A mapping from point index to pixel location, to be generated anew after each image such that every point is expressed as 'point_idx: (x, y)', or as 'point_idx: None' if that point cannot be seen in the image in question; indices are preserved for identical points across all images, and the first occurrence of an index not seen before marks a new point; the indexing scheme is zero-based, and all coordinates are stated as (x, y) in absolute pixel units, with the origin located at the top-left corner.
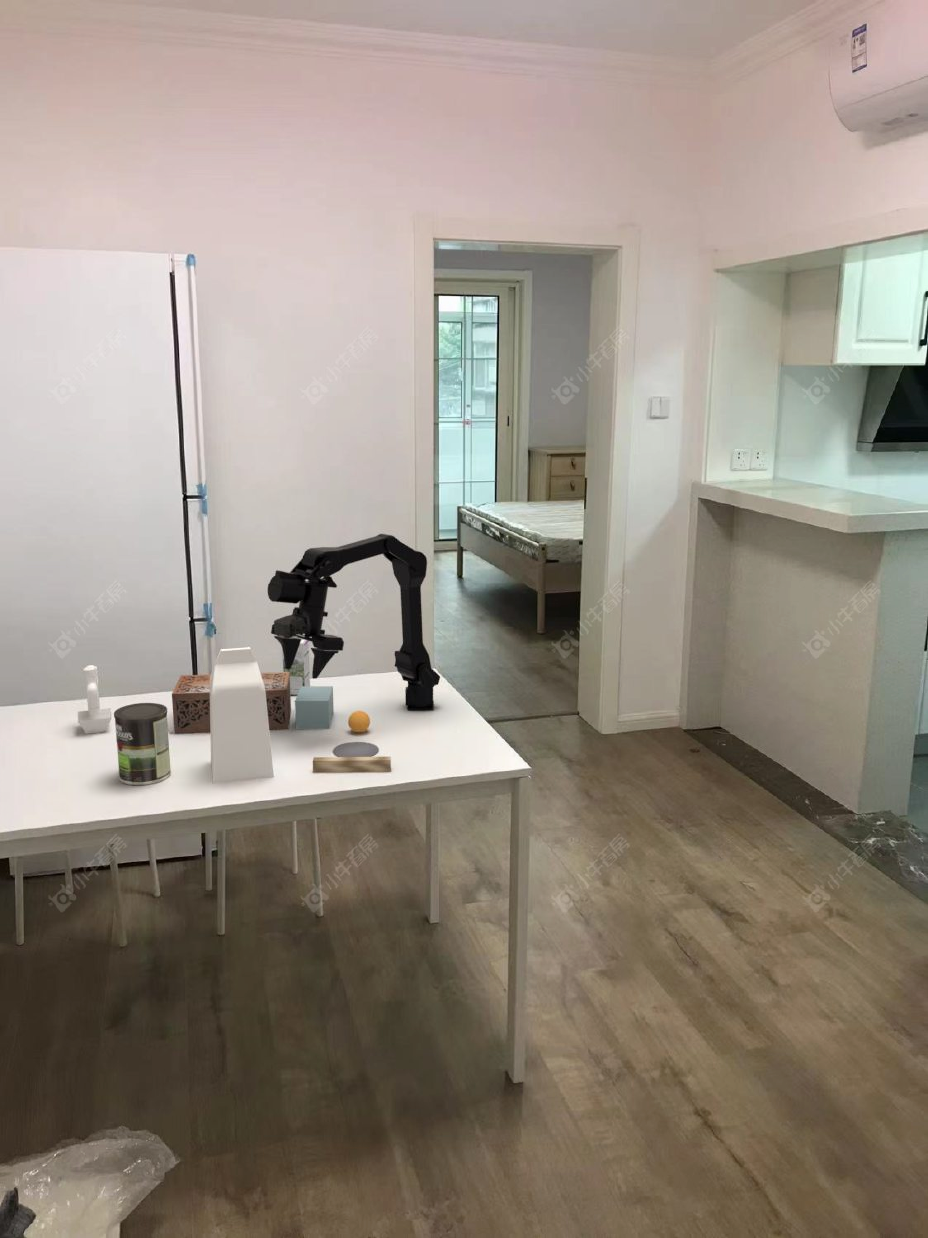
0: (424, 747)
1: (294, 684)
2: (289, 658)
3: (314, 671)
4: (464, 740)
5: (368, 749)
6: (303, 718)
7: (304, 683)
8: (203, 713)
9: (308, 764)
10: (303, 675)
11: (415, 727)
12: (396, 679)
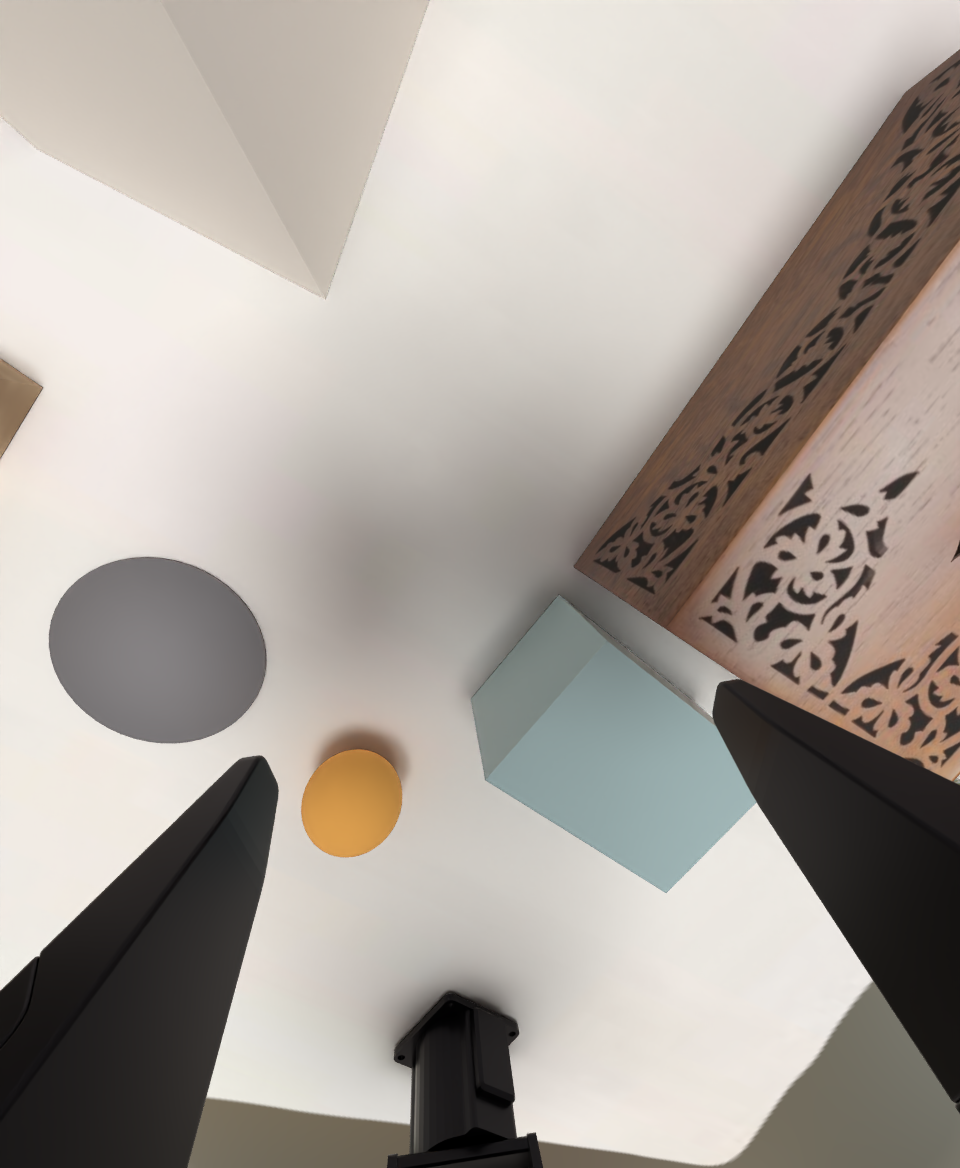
0: (49, 872)
1: None
2: (819, 803)
3: (167, 832)
4: None
5: (136, 698)
6: (549, 636)
7: None
8: (910, 167)
9: (114, 398)
10: None
11: (276, 938)
12: (731, 1079)
